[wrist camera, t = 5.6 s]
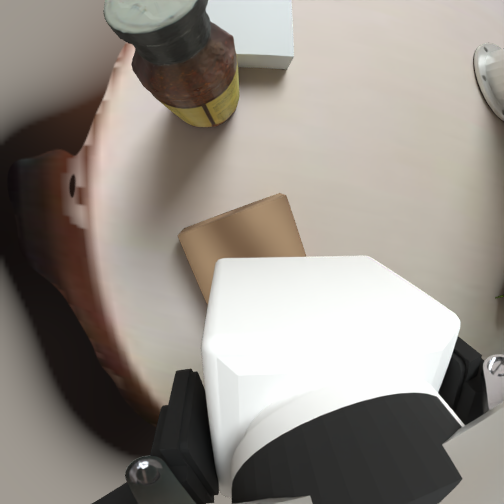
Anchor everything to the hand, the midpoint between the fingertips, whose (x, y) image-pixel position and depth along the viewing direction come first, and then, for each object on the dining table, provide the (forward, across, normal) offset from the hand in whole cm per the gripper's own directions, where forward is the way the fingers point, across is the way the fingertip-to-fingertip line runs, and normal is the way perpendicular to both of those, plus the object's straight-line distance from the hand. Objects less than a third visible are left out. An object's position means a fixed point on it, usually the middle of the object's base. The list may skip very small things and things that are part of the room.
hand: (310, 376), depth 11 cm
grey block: (+21, -3, -23) cm, 31 cm away
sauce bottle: (+21, +2, -16) cm, 26 cm away
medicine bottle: (+4, 0, 0) cm, 4 cm away
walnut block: (+21, +1, +1) cm, 21 cm away
